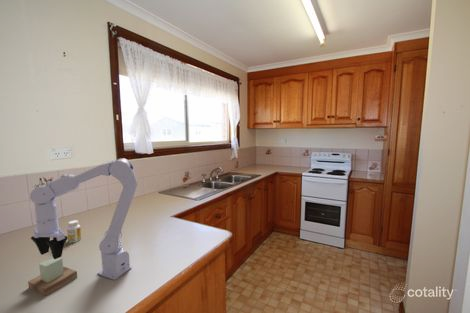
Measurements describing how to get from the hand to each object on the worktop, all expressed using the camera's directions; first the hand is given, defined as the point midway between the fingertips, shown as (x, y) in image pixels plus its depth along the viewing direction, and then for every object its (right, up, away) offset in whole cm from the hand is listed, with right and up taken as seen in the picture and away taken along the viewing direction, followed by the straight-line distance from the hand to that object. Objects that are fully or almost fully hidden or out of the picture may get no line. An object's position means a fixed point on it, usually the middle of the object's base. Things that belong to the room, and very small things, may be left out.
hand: (51, 255), depth 78 cm
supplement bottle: (-15, -7, +32) cm, 36 cm away
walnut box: (0, -11, +1) cm, 11 cm away
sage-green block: (0, -8, 0) cm, 8 cm away
